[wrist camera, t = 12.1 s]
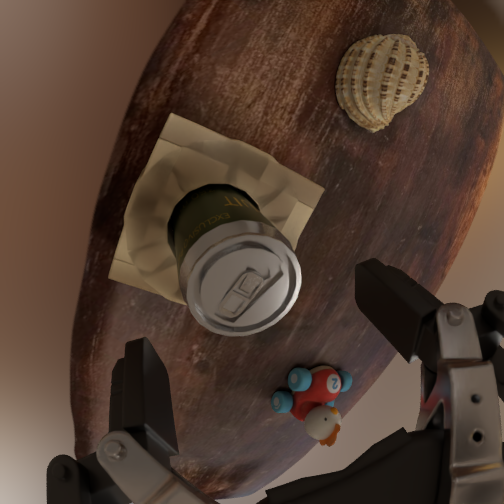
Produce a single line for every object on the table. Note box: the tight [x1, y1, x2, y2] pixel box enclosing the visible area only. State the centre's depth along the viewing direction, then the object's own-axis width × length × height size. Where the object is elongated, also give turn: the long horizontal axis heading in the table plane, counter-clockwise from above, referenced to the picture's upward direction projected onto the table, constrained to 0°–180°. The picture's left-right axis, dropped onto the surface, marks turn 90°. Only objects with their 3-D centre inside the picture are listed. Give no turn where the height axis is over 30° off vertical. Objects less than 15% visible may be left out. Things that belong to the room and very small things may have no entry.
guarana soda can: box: [172, 184, 301, 336], centre depth 17 cm, size 5×5×12 cm
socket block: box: [108, 113, 324, 305], centre depth 20 cm, size 11×11×5 cm
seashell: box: [335, 34, 429, 133], centre depth 19 cm, size 8×6×10 cm
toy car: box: [271, 366, 352, 447], centre depth 32 cm, size 9×9×10 cm
